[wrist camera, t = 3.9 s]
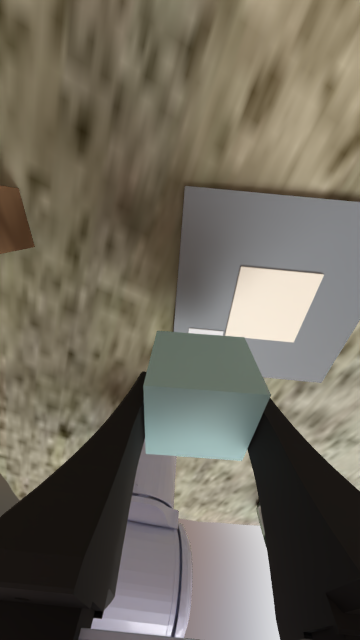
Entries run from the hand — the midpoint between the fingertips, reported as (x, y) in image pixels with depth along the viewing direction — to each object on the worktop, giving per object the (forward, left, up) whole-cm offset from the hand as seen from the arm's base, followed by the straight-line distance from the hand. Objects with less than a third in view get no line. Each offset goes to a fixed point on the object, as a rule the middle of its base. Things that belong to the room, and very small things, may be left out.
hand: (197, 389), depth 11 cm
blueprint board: (+2, -6, -9) cm, 11 cm away
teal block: (0, 0, -2) cm, 2 cm away
